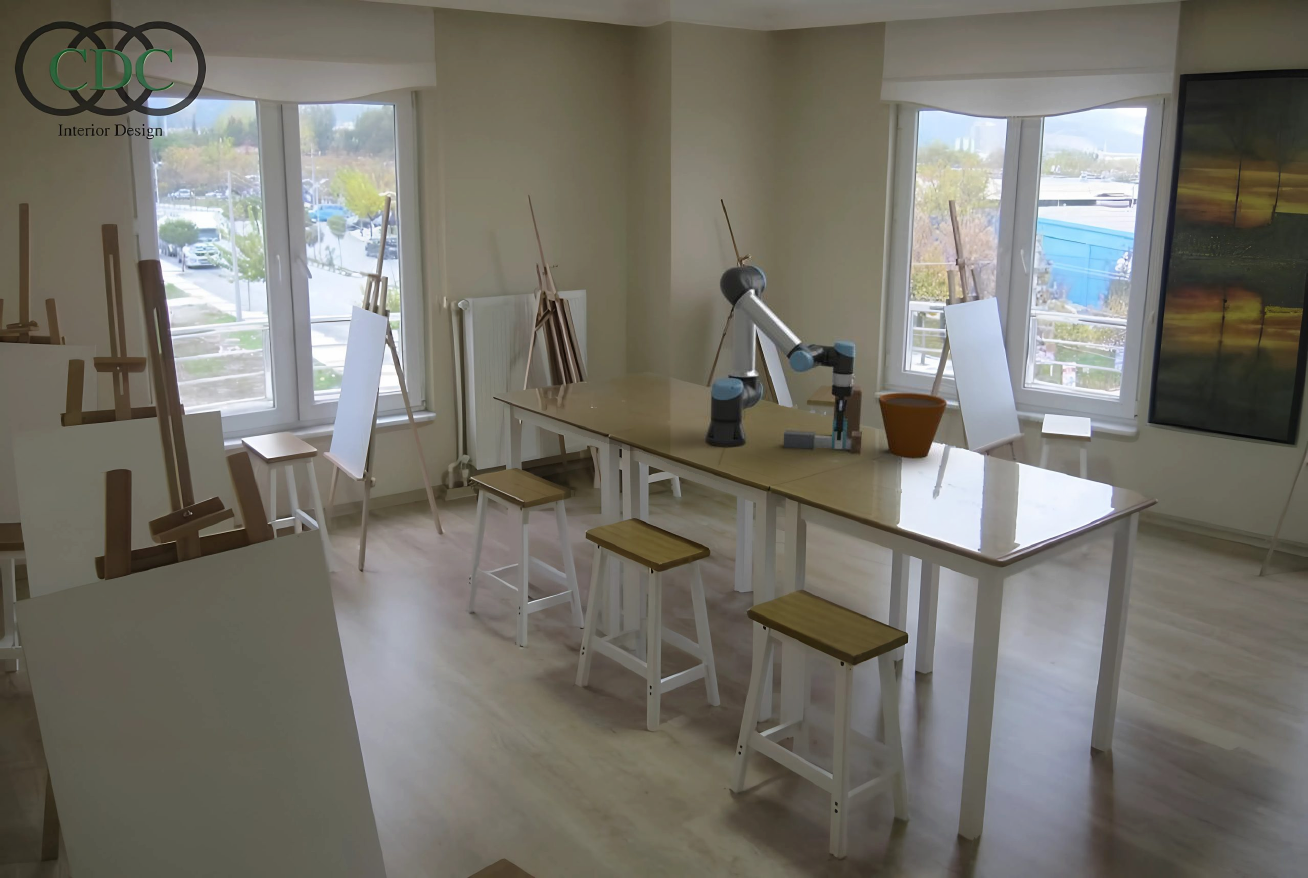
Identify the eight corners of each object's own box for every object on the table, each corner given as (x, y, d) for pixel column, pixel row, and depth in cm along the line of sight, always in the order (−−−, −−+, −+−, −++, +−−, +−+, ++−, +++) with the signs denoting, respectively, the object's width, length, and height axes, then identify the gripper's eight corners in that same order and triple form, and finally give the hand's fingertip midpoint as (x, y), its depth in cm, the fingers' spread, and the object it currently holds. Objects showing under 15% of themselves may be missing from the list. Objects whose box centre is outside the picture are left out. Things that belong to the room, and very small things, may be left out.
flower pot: (953, 460, 373) (958, 405, 368) (889, 462, 369) (893, 407, 364) (925, 444, 396) (930, 392, 391) (865, 445, 392) (869, 393, 387)
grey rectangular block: (783, 447, 387) (784, 433, 385) (784, 444, 392) (785, 430, 391) (813, 449, 384) (814, 435, 383) (814, 446, 390) (815, 431, 388)
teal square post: (802, 446, 386) (804, 418, 383) (803, 443, 390) (804, 416, 387) (854, 450, 382) (856, 422, 379) (855, 447, 386) (857, 419, 383)
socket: (850, 453, 381) (851, 435, 379) (851, 447, 388) (852, 430, 387) (860, 454, 380) (861, 436, 378) (860, 448, 387) (862, 431, 386)
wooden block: (858, 442, 397) (862, 390, 392) (832, 440, 399) (835, 388, 394) (859, 435, 407) (862, 385, 402) (833, 434, 409) (836, 384, 404)
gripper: (852, 389, 370) (848, 453, 376) (853, 380, 387) (849, 441, 393) (830, 388, 372) (827, 451, 377) (833, 379, 388) (829, 440, 394)
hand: (838, 446), depth 385 cm, fingers closed on teal square post, 4 cm apart
